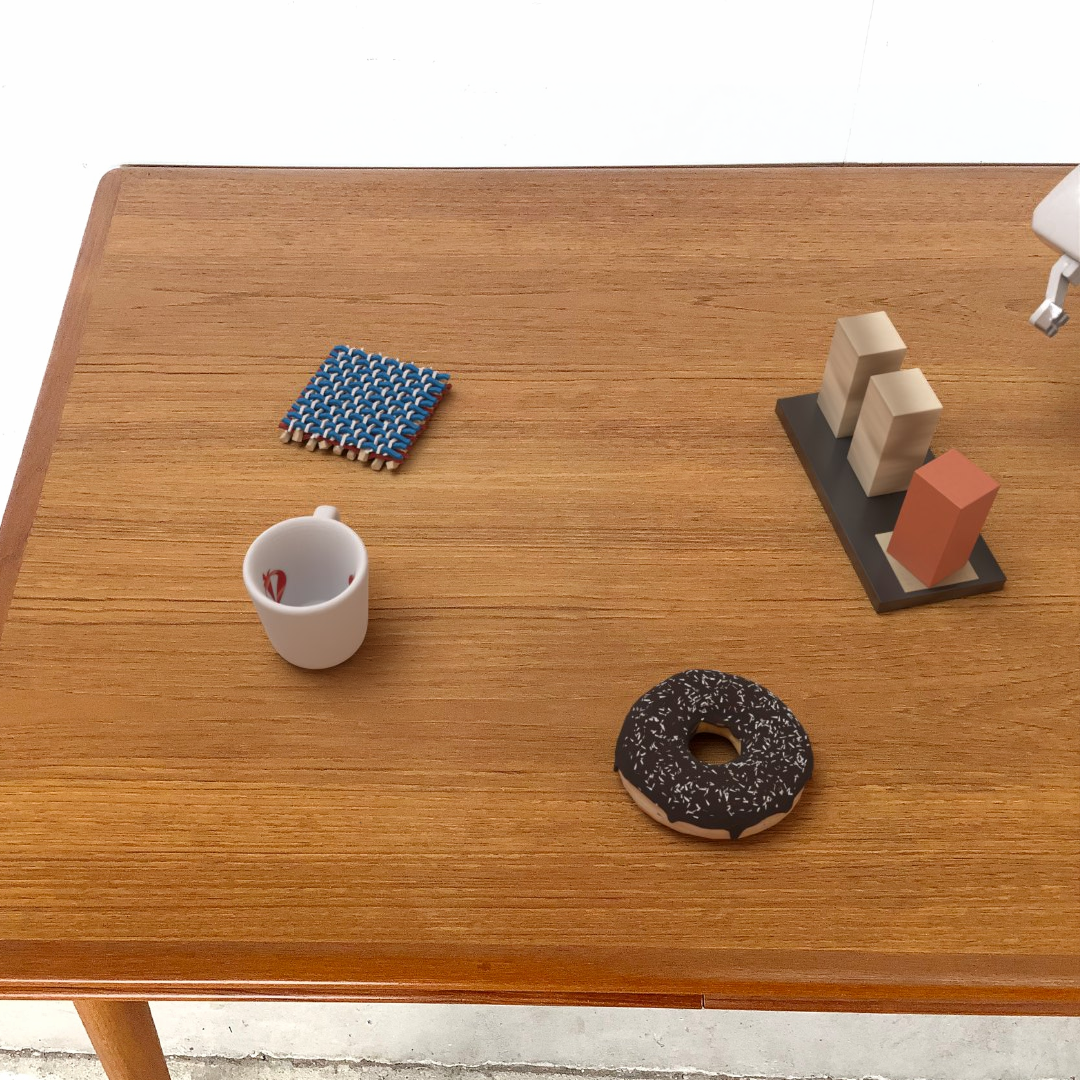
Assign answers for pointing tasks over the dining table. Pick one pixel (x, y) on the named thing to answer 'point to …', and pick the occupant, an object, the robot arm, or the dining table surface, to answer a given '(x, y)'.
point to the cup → (310, 588)
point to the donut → (704, 789)
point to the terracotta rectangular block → (942, 517)
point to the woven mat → (365, 406)
